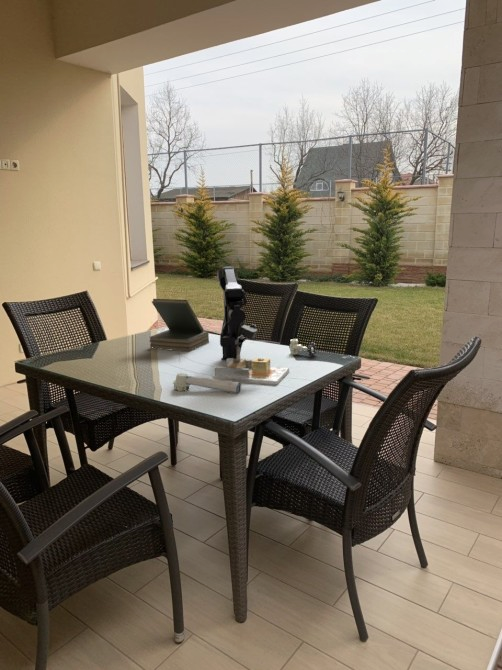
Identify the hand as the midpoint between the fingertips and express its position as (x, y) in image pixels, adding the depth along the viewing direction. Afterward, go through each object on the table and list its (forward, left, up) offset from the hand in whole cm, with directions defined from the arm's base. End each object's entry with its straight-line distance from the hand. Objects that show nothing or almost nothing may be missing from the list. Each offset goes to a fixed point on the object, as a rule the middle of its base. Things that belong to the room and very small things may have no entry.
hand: (236, 357), depth 195 cm
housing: (+10, 0, -5) cm, 12 cm away
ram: (0, 0, -5) cm, 5 cm away
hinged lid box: (-46, +39, -8) cm, 61 cm away
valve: (+18, +36, -7) cm, 41 cm away
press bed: (+6, 0, -7) cm, 9 cm away
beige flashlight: (-4, -21, -8) cm, 23 cm away
